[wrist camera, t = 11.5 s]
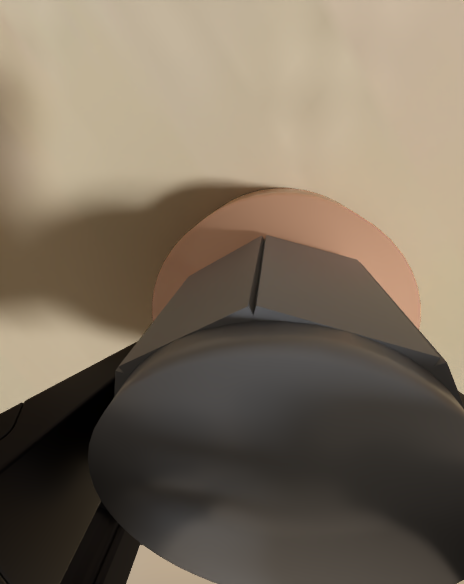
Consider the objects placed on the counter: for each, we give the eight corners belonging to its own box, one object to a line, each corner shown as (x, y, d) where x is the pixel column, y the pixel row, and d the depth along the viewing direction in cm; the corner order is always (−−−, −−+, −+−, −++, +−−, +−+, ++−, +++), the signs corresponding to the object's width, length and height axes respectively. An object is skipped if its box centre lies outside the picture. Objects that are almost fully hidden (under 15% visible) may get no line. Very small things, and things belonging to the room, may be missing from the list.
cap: (428, 279, 7) (665, 458, 3) (332, 430, 10) (375, 633, 6) (197, 216, 8) (82, 291, 3) (169, 382, 10) (90, 543, 6)
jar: (218, 384, 15) (181, 526, 9) (146, 229, 12) (15, 294, 6) (396, 356, 12) (501, 525, 7) (368, 150, 9) (529, 125, 3)
